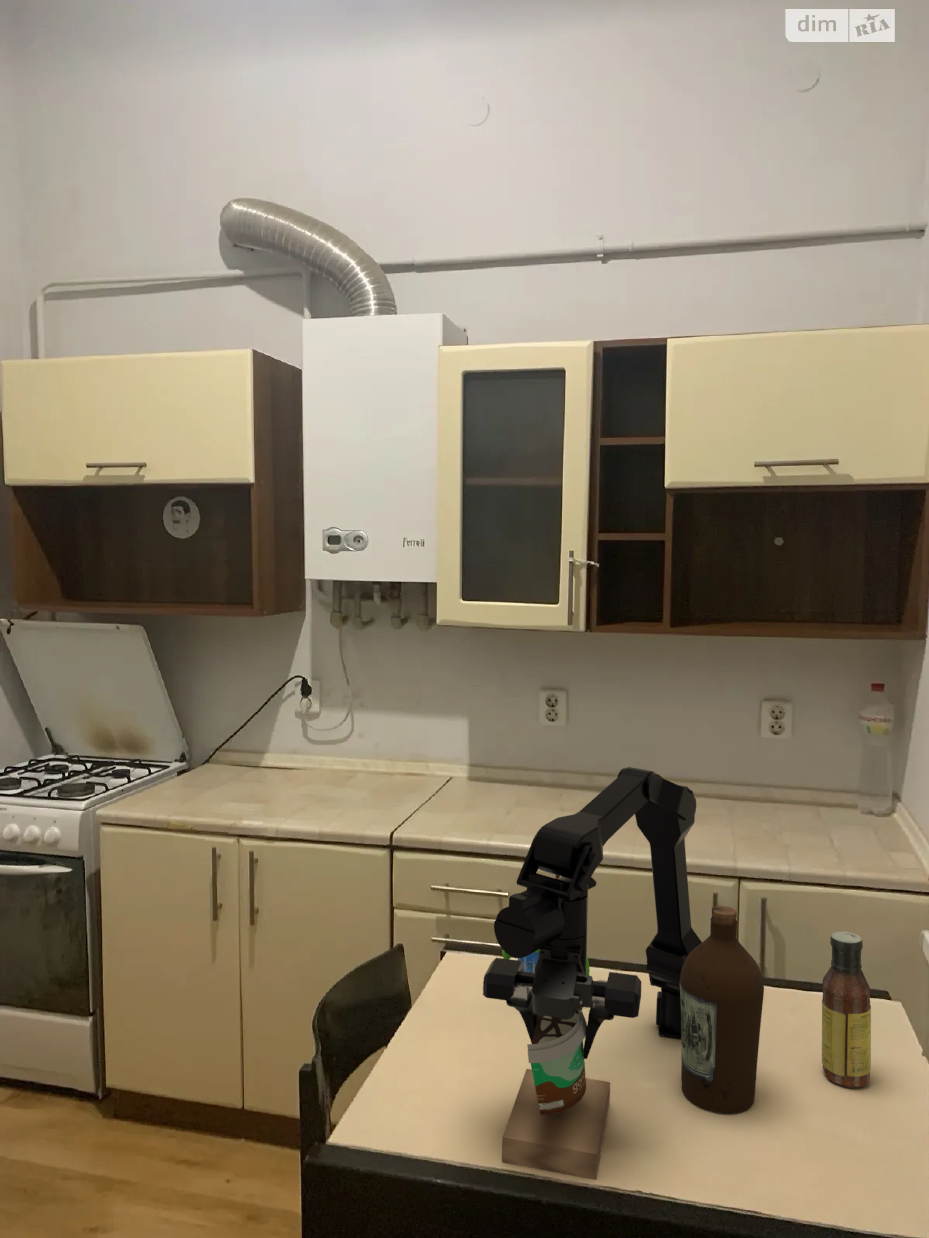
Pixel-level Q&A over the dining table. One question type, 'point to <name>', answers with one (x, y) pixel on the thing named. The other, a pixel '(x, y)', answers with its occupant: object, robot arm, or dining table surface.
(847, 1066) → the sauce bottle
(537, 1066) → the food container
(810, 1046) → the dining table surface
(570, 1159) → the base board
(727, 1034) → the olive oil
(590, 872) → the robot arm
